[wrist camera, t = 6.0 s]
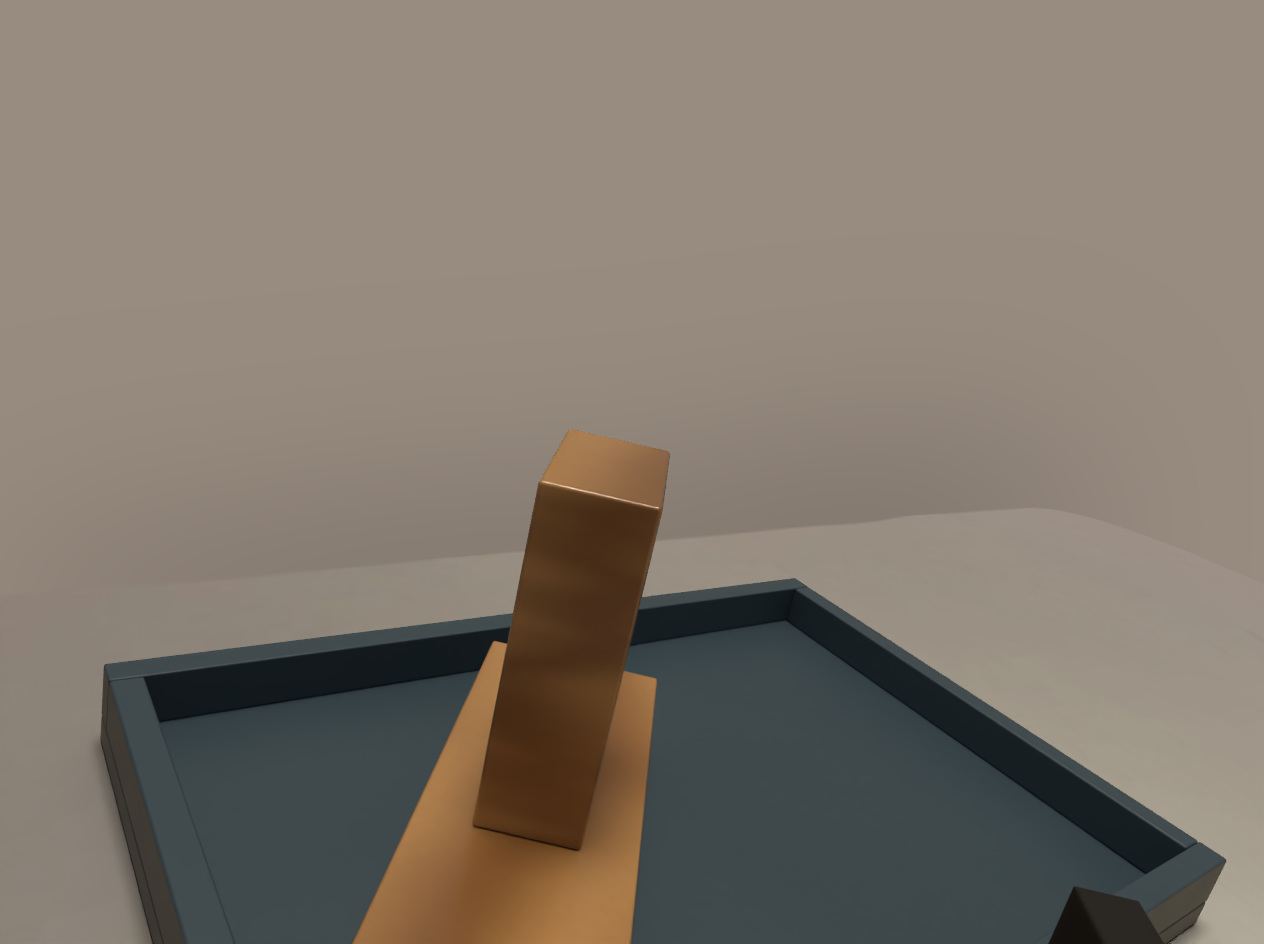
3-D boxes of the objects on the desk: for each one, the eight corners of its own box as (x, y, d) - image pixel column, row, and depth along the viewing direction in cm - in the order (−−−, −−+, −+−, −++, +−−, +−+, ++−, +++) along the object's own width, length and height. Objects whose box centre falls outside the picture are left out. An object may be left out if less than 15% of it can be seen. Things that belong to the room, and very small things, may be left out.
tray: (100, 739, 25) (103, 663, 24) (780, 625, 40) (794, 577, 39) (311, 1561, 12) (332, 1447, 11) (1195, 922, 27) (1227, 859, 26)
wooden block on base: (327, 1059, 17) (405, 542, 14) (480, 705, 28) (542, 379, 25) (597, 1123, 17) (737, 619, 14) (641, 743, 28) (723, 421, 25)
